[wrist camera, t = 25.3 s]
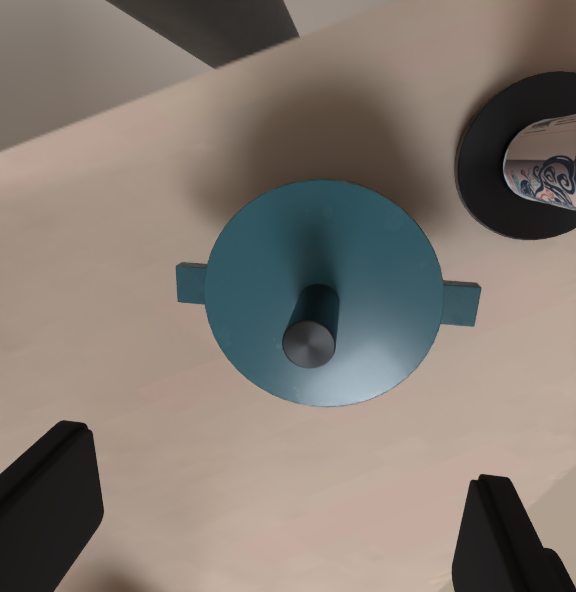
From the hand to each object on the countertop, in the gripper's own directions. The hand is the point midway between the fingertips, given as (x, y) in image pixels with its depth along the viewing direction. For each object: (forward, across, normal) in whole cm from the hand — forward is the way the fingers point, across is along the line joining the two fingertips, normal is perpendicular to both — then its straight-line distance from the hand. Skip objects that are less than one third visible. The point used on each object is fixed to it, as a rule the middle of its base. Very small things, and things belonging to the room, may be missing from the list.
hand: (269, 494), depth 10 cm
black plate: (+22, -13, -8) cm, 27 cm away
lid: (+15, 0, 0) cm, 15 cm away
